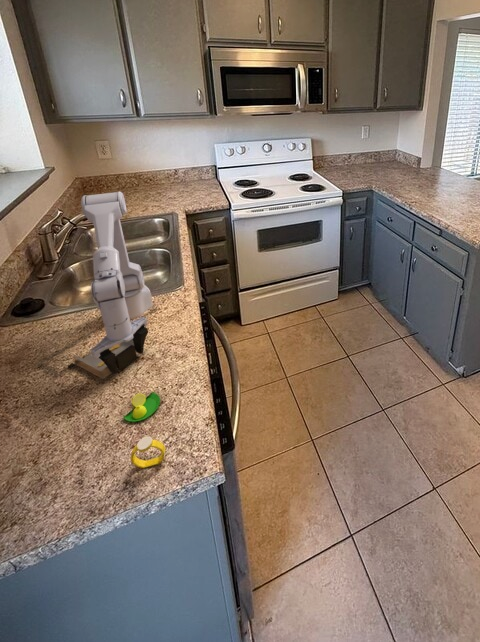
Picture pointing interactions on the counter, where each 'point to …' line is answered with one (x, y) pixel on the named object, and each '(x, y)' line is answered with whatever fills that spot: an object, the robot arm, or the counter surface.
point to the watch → (144, 446)
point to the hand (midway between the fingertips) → (127, 361)
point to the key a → (115, 347)
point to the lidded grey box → (89, 363)
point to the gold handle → (71, 365)
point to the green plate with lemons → (143, 406)
